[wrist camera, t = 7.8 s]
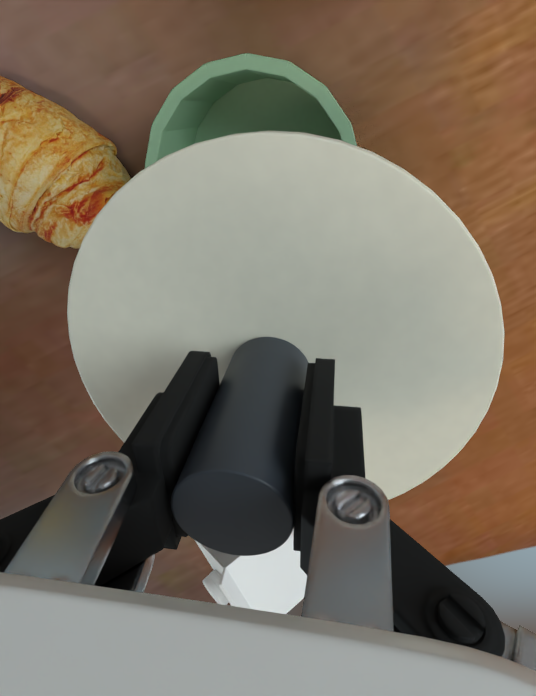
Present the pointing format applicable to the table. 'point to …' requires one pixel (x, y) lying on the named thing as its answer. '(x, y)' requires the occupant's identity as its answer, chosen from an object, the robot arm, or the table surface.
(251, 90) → the bowl
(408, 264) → the lid
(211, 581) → the milk carton
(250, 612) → the robot arm
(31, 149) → the croissant
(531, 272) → the table surface
